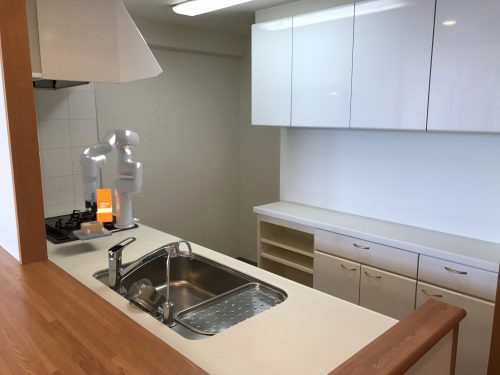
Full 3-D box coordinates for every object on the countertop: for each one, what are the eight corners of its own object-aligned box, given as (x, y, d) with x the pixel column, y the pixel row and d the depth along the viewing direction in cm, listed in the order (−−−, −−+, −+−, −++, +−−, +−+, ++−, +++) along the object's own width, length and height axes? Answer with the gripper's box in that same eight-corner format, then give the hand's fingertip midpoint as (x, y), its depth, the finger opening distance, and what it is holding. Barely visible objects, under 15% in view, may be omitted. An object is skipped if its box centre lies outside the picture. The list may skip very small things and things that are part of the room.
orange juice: (97, 219, 260) (96, 188, 257) (112, 218, 263) (110, 187, 259) (97, 222, 253) (95, 190, 249) (112, 221, 256) (110, 190, 252)
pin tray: (101, 228, 237) (101, 221, 236) (112, 235, 225) (112, 227, 224) (73, 233, 227) (72, 225, 226) (82, 240, 215) (81, 233, 214)
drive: (99, 229, 231) (99, 220, 230) (103, 231, 227) (103, 222, 226) (81, 232, 225) (80, 223, 224) (85, 235, 221) (84, 226, 220)
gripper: (77, 177, 224) (79, 207, 228) (87, 182, 211) (89, 214, 215) (91, 176, 229) (93, 205, 233) (102, 181, 216) (104, 212, 219)
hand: (91, 210), depth 224 cm, fingers open, 9 cm apart
